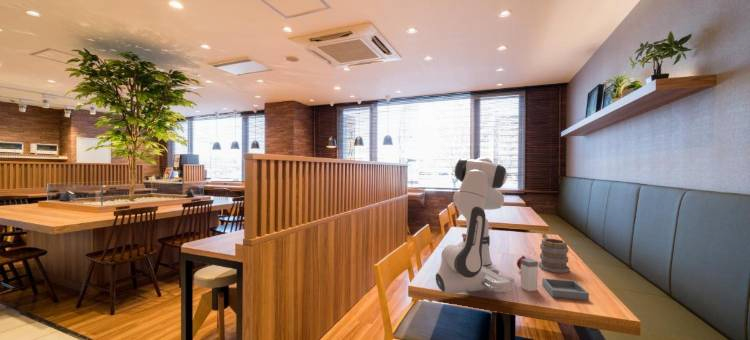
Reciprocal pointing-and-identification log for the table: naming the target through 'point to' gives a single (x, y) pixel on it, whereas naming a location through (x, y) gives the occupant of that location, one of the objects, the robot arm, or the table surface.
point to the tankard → (553, 255)
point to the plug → (529, 274)
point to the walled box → (565, 289)
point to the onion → (520, 262)
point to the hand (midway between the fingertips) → (505, 275)
